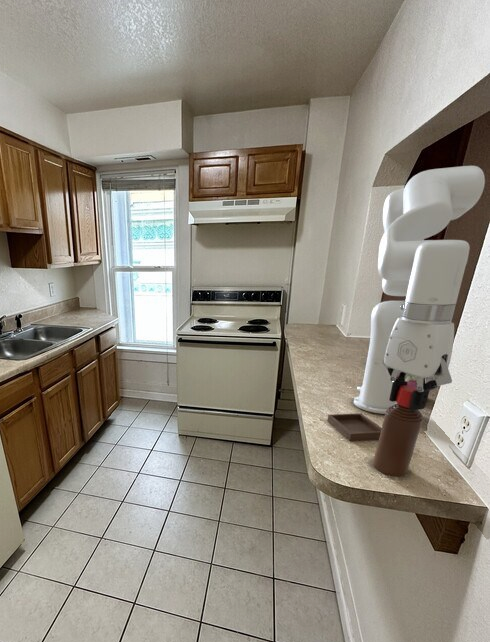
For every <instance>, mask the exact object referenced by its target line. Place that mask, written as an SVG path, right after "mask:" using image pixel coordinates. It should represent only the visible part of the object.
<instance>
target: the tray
mask: <svg viewBox="0 0 490 642" xmlns="http://www.w3.org/2000/svg"><path fill="white" fill-rule="evenodd" d="M326 421H327V422H328V424H330V425H331V426H332V427H333V428H335V430H337V432H338V433H340V434H341V435H342V436H343V437H345V438H346V439H347V440H348V441H349V442H353V441H374V440H379V437H380V433H381V429H382V426H380V425H378V424H377V423H375V422H374V421H373V420H371V419H370V418H368V417H367V416H366V415H364V414H363V413H361V412H355V413H335V414H328V415H327V419H326Z"/></svg>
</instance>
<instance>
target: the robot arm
mask: <svg viewBox="0 0 490 642" xmlns="http://www.w3.org/2000/svg"><path fill="white" fill-rule="evenodd" d="M485 184H486V177H485V173H484V171H483V169H482V168H480V167H479V166H477V165H462V166H461V165H460V166H452V167H442V168H433V169H427V170H423V171H420V172H418V173H417V174H415V175H413V176H412V177H411V178H410V179H409V180H408V181H407V182H406V184H405V186H404V187H402V188H399V189H396V190H393V191H391V192H390V193H389V194H388V195H387V196H386V198H385V200H384V203H383V207H382V225H383V226H382V227H383V231H384V232H383V234H382V236H381V239H380V242H379V245H378V246H379V247H378V255H377V272H378V275H379V277H380V278H381V279H382V283H381V288H382V292H383V293H384V294H386V295H387V296H392V297H405V300H386V301H381V302H379V303H377V304H376V305H375V306H374V307H373V308H372V311H371V315H370V336H369V337H370V338H369V346H368V352H367V356H366V357H367V358H366V363H365V369H364V374H363V380H362V385H360V386H359V385H358V386H357V388H356V390H357V391H358V392H359V395H358V396H356V397H354V399H353V404H354V405H355V407H357V408H359V409H361V410H363V411H366V412H369V413H373V414H378V415H379V414H380V415H385V413H386V410H387V409H388V408H389V407H391V406H393V405H395V404H397V402H396V398H397V395H398V391H399V389H400V386H402V385H407V382H406V381H405V380H406V378H407V375H408V374H410V375H413V376H417V390H414V391H413V393H412V397H411V402H410V406H409V409H410V410H419V411H420V410H424V409H425V408H426V406H427V403H428V398H429V394H430V392H431V391H434V389H437V388H438V387H440V386H445V385H450V384H452V383H453V379H452V375H451V373H450V370H449V367H450V364H451V360H452V355H453V354H452V353H453V348H454V342H455V341H454V340H455V339H454V338H455V323H454V322H453V321H452V320H453V317H454V313H455V308H456V306H457V305H456V304H457V301H458V299H459V295H460V294H459V293H460V289H461V286H462V282H463V278H464V273H465V270H466V266H467V264H468V261H469V254H470V244H469V242H467V240H463V239H428V238H430V237H432V236H436V235H437V234H439V233H440V232H442V231H444V229H446V227H447V226H448V225H449V224H450V222H451V221H454V220H457V219H459V218H460V217H462V216H463V215H464V214H466V213H467V212H468V211H470V210H471V209H472V208H473V207H474V206H475V205H476V204H477V203H478V202H479V200H480V198H481V196H482V194H483V192H484V189H485ZM435 377H437V378H436V379H435ZM425 379H426V383H425Z"/></svg>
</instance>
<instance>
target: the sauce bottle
mask: <svg viewBox="0 0 490 642" xmlns="http://www.w3.org/2000/svg"><path fill="white" fill-rule="evenodd" d="M423 420H424V417H423V414H422V413H421V412H420V409H419V410H410V409H409V407H404V406H401V405H399V404H395V405H393V406H391V407H389V408H388V409H387V410H386V413H385V414H384V418H383V421H382V422H383V423H382V426H381V428H382V429H381V433H380V437H379V439H378V440H377V444H376V449H375V453H374V457H373V460H372V465H373V467H374V468H375V469H376V470H377V471H379V472H381V473H383V474H385V475H389V476H392V477H403V476H405V475H406V474H407V473H408V470H409V467H410V464H411V460H412V457H413V454H414V451H415V447H416V444H417V440H418V437H419V433H420V430H421V427H422V424H423Z"/></svg>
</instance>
